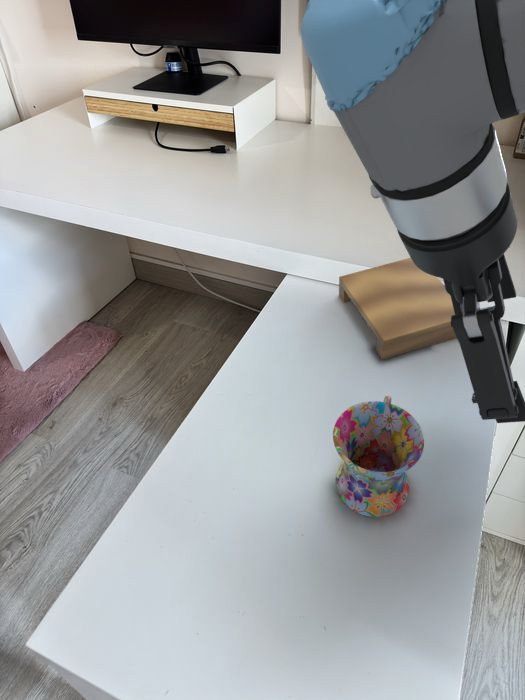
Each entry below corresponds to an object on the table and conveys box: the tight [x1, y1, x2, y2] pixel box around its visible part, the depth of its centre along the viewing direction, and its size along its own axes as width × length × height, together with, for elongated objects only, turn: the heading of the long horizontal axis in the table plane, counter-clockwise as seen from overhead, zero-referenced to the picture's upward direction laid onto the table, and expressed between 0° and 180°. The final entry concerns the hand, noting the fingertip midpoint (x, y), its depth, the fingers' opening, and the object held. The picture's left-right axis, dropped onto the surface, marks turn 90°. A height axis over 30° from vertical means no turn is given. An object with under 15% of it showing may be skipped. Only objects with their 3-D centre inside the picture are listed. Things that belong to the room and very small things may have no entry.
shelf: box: [338, 257, 457, 361], centre depth 79 cm, size 16×14×4 cm
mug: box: [332, 395, 425, 518], centre depth 57 cm, size 12×9×11 cm
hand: (507, 353), depth 49 cm, fingers open, 13 cm apart
